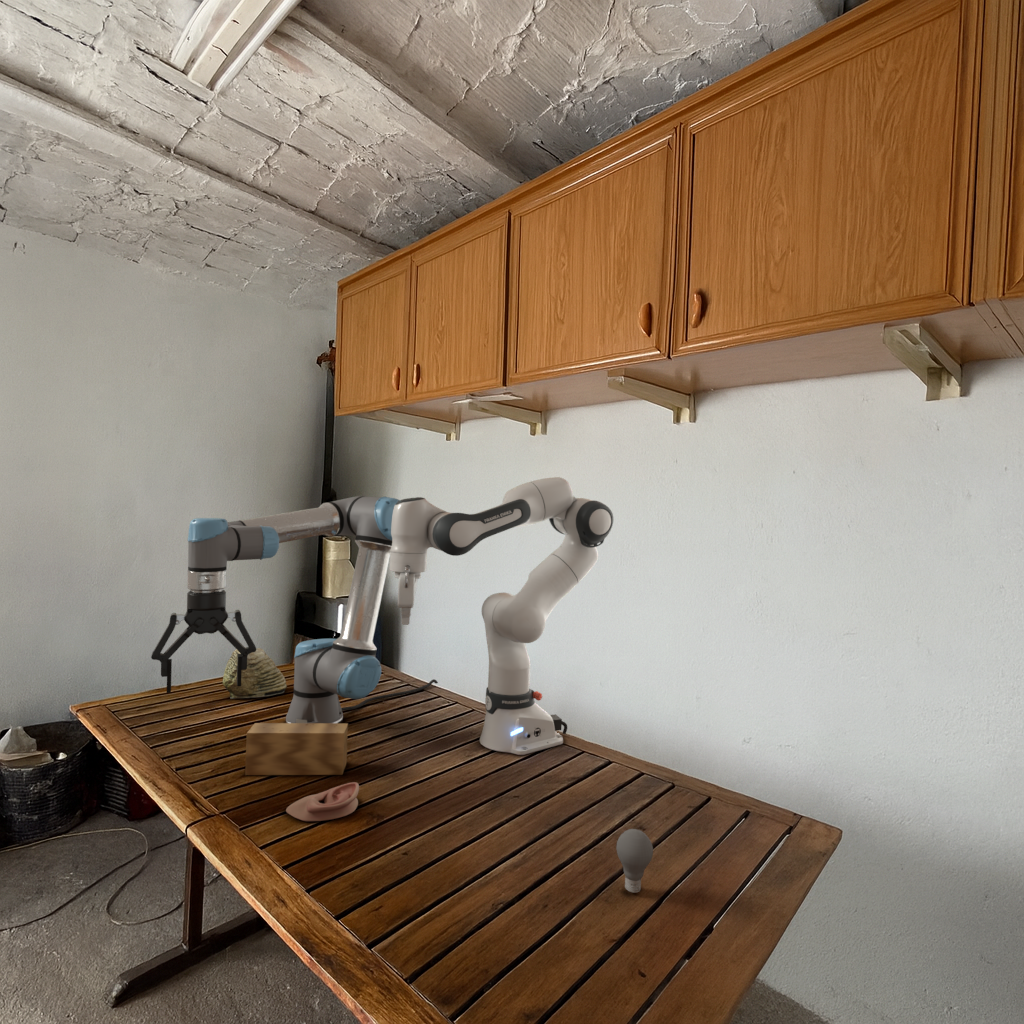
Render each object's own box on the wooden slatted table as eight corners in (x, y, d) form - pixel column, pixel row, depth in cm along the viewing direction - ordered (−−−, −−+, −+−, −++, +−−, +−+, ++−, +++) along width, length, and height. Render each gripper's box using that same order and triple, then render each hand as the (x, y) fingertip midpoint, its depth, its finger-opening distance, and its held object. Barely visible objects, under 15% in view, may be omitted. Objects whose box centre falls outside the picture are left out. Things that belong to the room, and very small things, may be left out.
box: (245, 775, 142) (246, 732, 142) (253, 763, 149) (254, 723, 148) (342, 774, 145) (344, 733, 144) (346, 763, 151) (348, 723, 151)
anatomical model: (278, 797, 124) (308, 772, 135) (277, 817, 124) (307, 791, 136) (340, 806, 122) (366, 781, 133) (339, 827, 122) (365, 799, 133)
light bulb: (610, 879, 108) (613, 822, 108) (644, 879, 109) (647, 822, 109) (619, 902, 102) (622, 840, 102) (655, 901, 103) (658, 840, 103)
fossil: (218, 695, 195) (220, 647, 195) (278, 685, 208) (279, 640, 207) (228, 703, 189) (230, 653, 188) (289, 692, 201) (290, 645, 201)
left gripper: (138, 595, 127) (136, 699, 128) (270, 590, 138) (268, 686, 139) (141, 589, 134) (139, 688, 134) (267, 585, 145) (264, 677, 146)
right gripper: (420, 569, 144) (418, 629, 144) (421, 560, 164) (419, 612, 165) (392, 568, 143) (390, 629, 144) (397, 559, 164) (395, 612, 164)
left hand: (204, 688), depth 137 cm, fingers open, 13 cm apart
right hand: (406, 620), depth 154 cm, fingers open, 8 cm apart
